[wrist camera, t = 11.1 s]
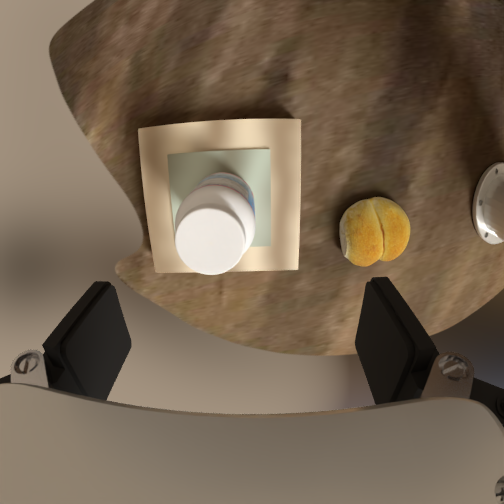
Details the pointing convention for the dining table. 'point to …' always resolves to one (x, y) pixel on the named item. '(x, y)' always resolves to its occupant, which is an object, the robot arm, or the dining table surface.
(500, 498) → the robot arm
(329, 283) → the dining table surface
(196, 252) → the pill bottle
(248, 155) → the birch plinth
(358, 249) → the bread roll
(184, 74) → the dining table surface
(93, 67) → the dining table surface
